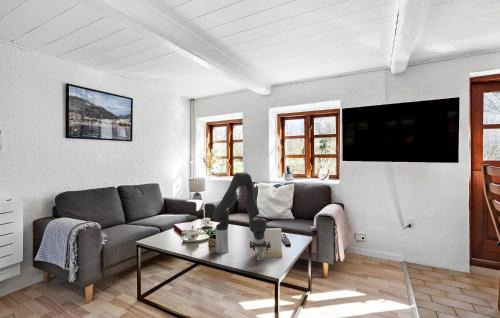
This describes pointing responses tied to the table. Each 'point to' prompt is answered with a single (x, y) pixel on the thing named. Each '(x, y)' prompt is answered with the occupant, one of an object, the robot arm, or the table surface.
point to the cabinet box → (260, 253)
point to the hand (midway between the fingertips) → (260, 249)
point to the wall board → (273, 243)
